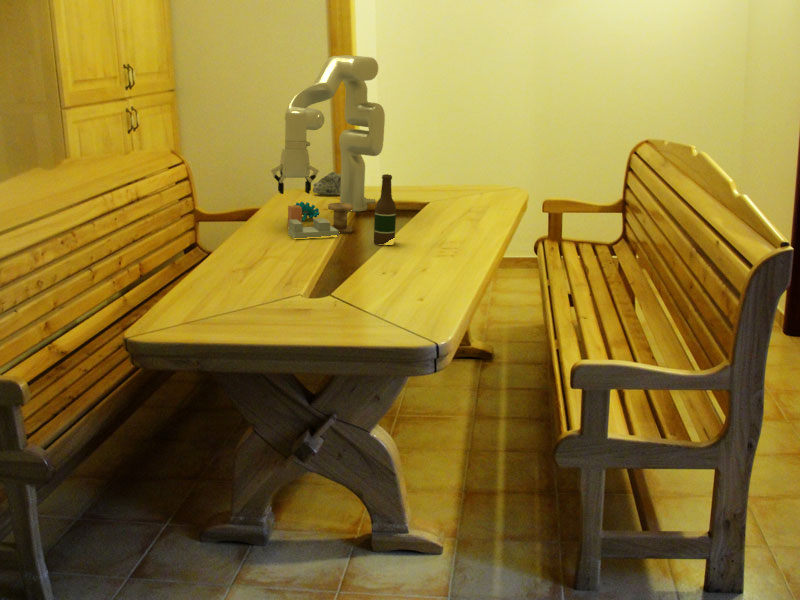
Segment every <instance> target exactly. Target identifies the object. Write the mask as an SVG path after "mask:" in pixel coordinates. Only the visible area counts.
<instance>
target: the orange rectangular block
mask: <svg viewBox="0 0 800 600" xmlns="http://www.w3.org/2000/svg"><path fill="white" fill-rule="evenodd" d="M294 205H295V206H294ZM294 205H287V228H288V227H289V220H294V219H297V220H299V221H300V222H301V223H302V224H303V221H302V219H303V215H302V207H300V206H299V205H296V204H294Z"/></svg>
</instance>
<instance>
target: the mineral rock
mask: <svg viewBox="0 0 800 600" xmlns="http://www.w3.org/2000/svg"><path fill="white" fill-rule="evenodd" d="M312 186H313V189H312V192H313V193H314V194H318V195H323V196H327V195H329V196H340V193H341V173H337V172H336V171H332V172H330V173H328V174H327V175H325V176H323V177H322V178H320V179H319V180H318V181H317V182H315V183H313V185H312Z"/></svg>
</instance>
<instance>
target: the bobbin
mask: <svg viewBox="0 0 800 600" xmlns="http://www.w3.org/2000/svg"><path fill="white" fill-rule="evenodd" d="M327 206H328V207H327V208H328V210H331V211H333V220H332V221H333V223H332V224H330V226H333V227H334V228H335V229H337V230H338V231H339V232H340V234H339V235H343V234H351V233H352V232H353V227H352V226H351V225H348V212H352V211H351V210H353V205H352V204H348V203H340V202H331V203H328V204H327Z"/></svg>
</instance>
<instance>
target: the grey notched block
mask: <svg viewBox="0 0 800 600" xmlns="http://www.w3.org/2000/svg"><path fill="white" fill-rule="evenodd" d="M312 219H313V224H312V225H313V226H304V224H303V222H302V223H301V222H300V221H299V220H297V219H294V220H289V228H288V227H287V231H288V232H287V233H288V234H289V235H290V236H292V237H293V238H307V237H321V236H331V235H337V236H338V238H339V235H340V234H339V231H338V230H337V229H335V228H334V227H333V226H330V225H331V221H329V220H327V219H326V218H324V217H321V218H320V217H319V218H317V217H316V218H312ZM288 234H287V235H288ZM289 235H288V236H289ZM290 236H289V237H290ZM292 237H291V238H292ZM293 238H292V239H293Z"/></svg>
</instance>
